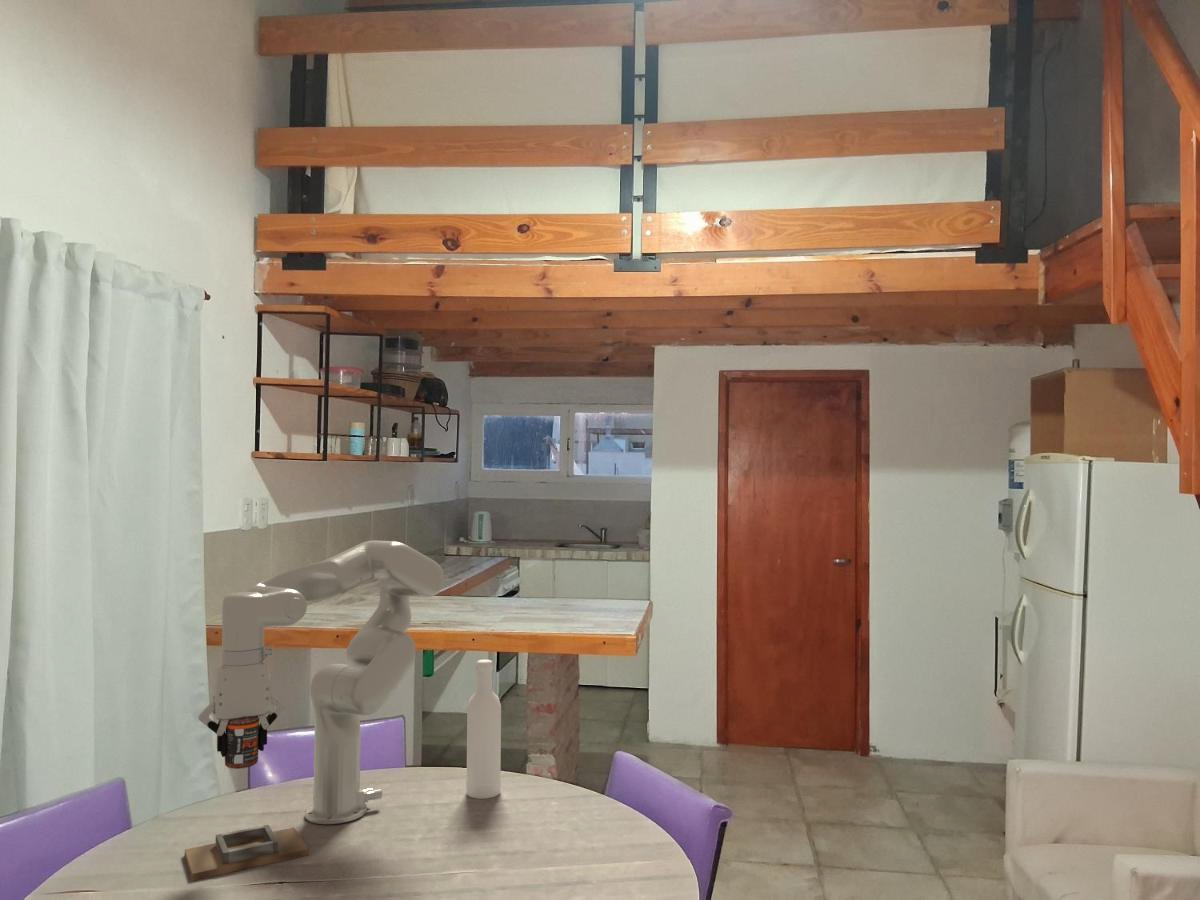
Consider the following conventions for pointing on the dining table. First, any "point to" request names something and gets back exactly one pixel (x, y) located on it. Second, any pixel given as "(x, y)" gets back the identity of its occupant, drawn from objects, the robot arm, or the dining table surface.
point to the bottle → (483, 737)
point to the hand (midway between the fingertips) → (242, 750)
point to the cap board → (244, 851)
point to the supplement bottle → (242, 742)
